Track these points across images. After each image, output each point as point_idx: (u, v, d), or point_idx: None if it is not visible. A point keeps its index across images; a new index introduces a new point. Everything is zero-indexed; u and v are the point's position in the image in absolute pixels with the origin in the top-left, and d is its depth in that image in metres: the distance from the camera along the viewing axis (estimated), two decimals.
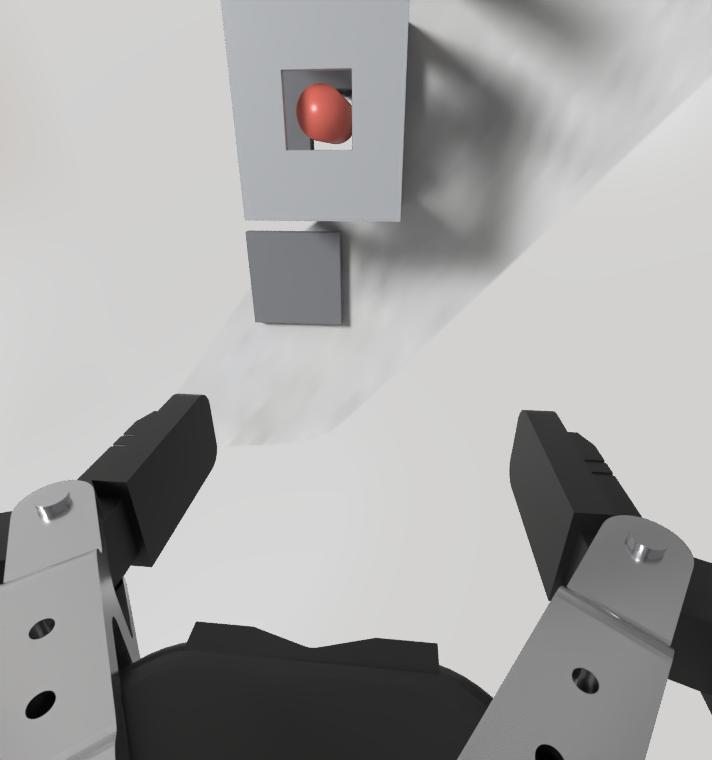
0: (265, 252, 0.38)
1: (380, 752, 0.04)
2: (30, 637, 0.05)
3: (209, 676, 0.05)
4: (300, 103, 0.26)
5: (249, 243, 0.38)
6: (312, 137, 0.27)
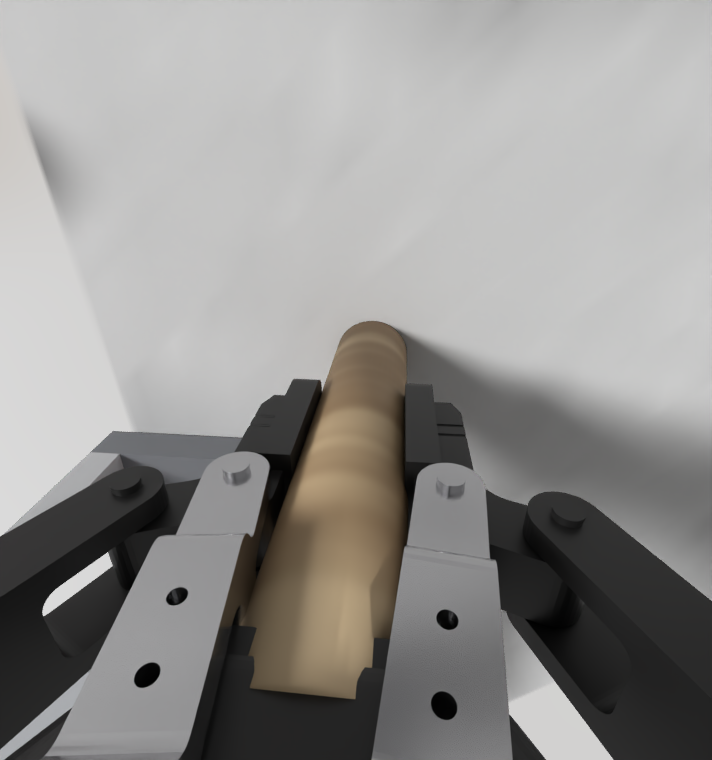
0: None
1: None
2: (167, 599, 0.05)
3: None
4: None
5: None
6: None
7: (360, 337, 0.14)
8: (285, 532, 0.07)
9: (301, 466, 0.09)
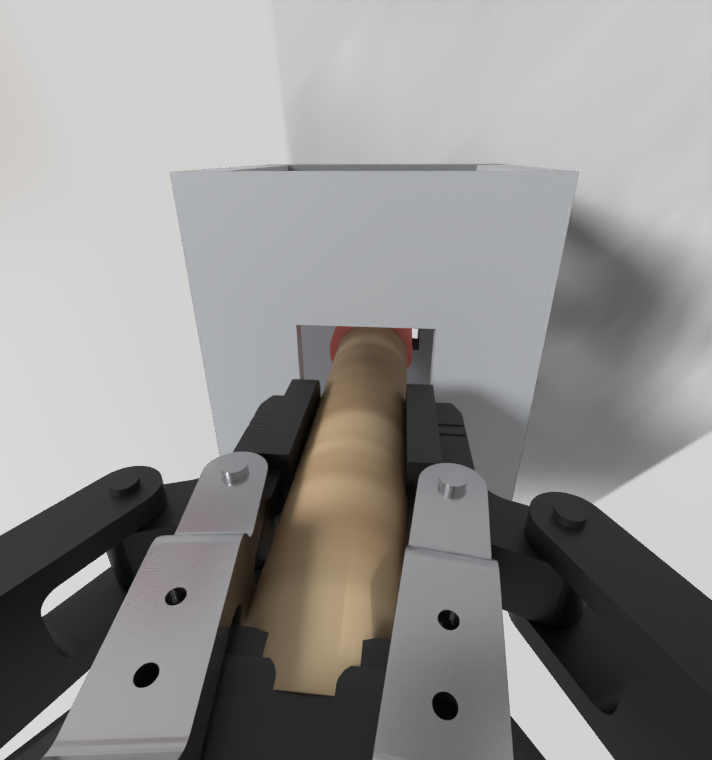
0: None
1: None
2: (166, 599, 0.05)
3: None
4: (337, 338, 0.16)
5: None
6: None
7: (360, 338, 0.14)
8: (286, 536, 0.07)
9: (302, 469, 0.09)
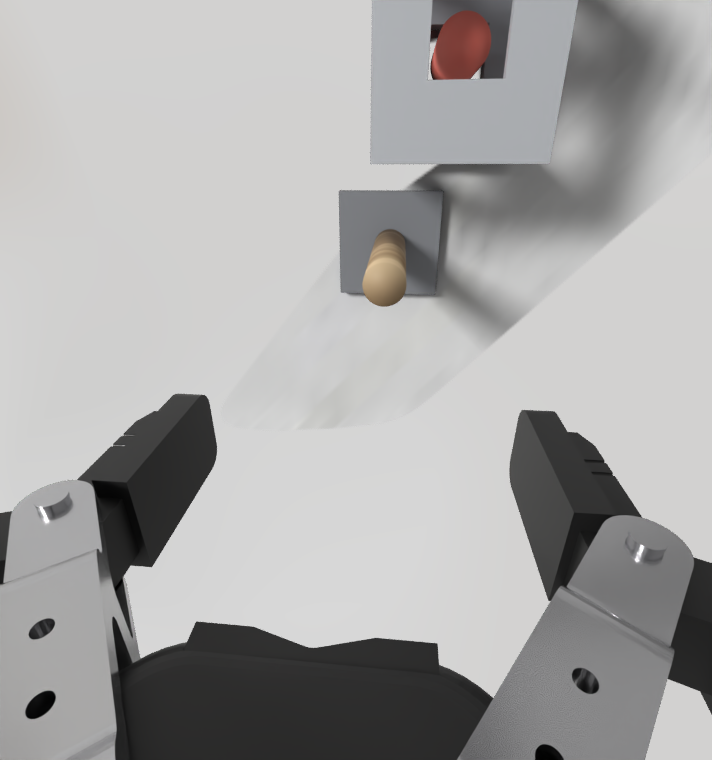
0: (359, 214, 0.35)
1: (380, 752, 0.04)
2: (30, 637, 0.05)
3: (209, 676, 0.05)
4: (442, 34, 0.25)
5: (342, 204, 0.35)
6: (451, 72, 0.25)
7: (385, 232, 0.34)
8: (373, 258, 0.27)
9: (372, 254, 0.29)
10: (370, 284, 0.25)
